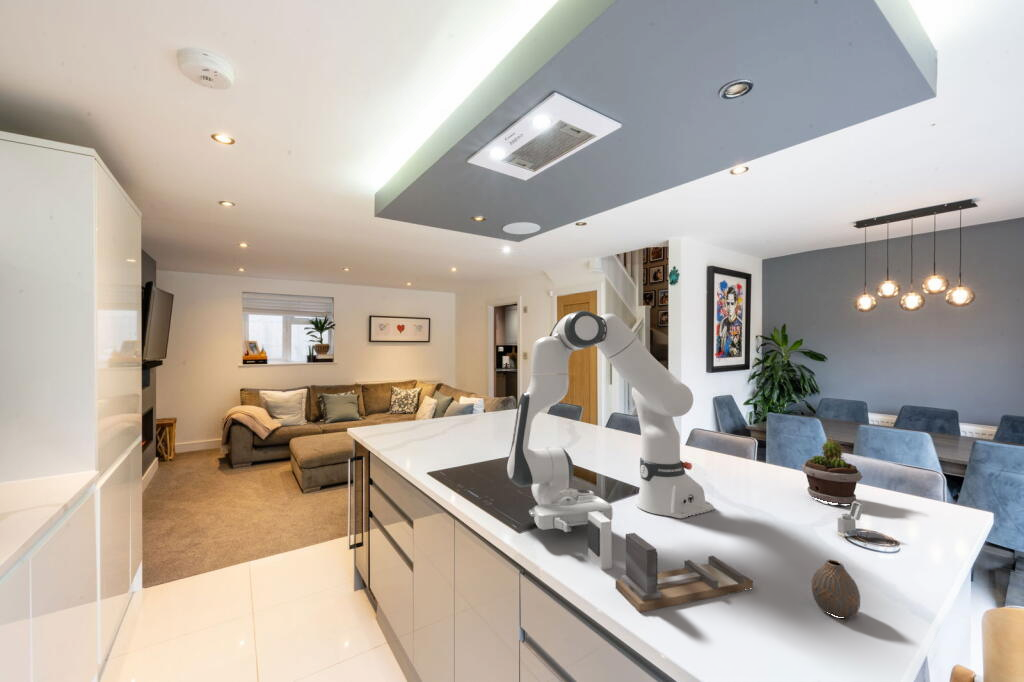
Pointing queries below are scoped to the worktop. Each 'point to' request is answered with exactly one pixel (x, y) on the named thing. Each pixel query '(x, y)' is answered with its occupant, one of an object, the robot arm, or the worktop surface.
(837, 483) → the flowerpot
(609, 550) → the white upright block
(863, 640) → the worktop surface
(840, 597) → the vase
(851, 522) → the lighter
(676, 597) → the rail
